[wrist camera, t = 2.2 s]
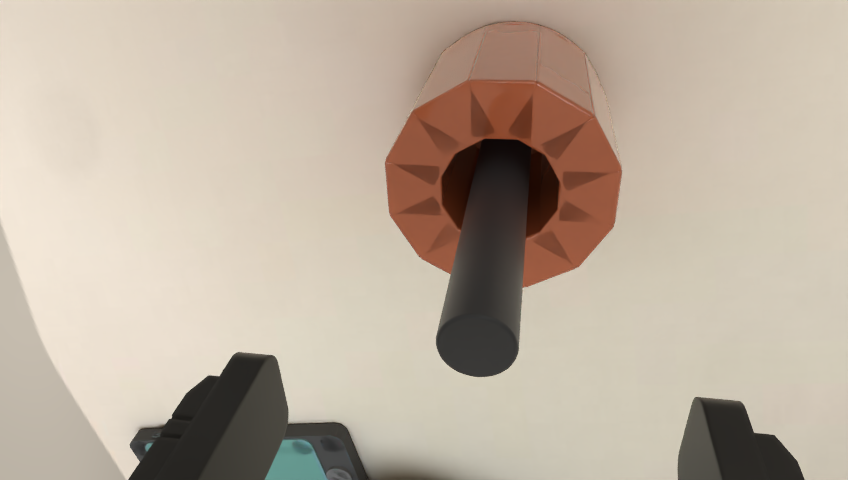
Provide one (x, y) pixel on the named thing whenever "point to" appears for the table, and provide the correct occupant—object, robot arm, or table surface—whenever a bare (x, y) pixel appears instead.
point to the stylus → (488, 265)
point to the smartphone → (297, 453)
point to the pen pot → (509, 119)
